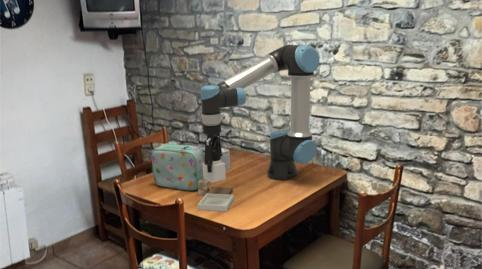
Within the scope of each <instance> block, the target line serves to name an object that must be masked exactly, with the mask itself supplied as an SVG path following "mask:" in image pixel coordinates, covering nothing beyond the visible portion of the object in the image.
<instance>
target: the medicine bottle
mask: <svg viewBox="0 0 482 269" xmlns="http://www.w3.org/2000/svg"><path fill="white" fill-rule="evenodd" d="M208 162H209V161H208ZM213 165H214V180H207V165H204V163H203V178H204V179H205V180H207V181H209V183H216V182H220V181H224V180H227V174H226V173H227V172H226V171H227V170H226V169H225V163H223V162H221V154H220V152H219V151H214V154H213Z"/></svg>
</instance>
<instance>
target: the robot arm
mask: <svg viewBox="0 0 482 269" xmlns="http://www.w3.org/2000/svg"><path fill="white" fill-rule="evenodd" d="M319 65H320V54H319V52H318V51H317V50H316V49H315V47H313V46H310V45H306V44H286V45H283V46H280V47H278V48H276V49H274V50H273V51H271V52H269V53H267V54H266V55H264V58H262V59H261V60H260V61H257V62H255V63H254V64H252V65H250V66H248V67H247V68H245V69H242V70H241V71H239V72H238V73H235V74H234V75H232V76H230V77H229V78H227V79H224V80H222V81H221V82H219V83H217V84H209V85H205V86H202V87H201V88H200V100H201V101H200V102H201V103H200V105H201V116H200V117H201V118H202V133H203V134H204V135H207V138H206V139H205V140H204V162H205V163H204V165H207V180H214V165H213V154H214V151H219V152H220V154H221V156H222V149H221V148H222V143H221V132H222V124H221V122H222V117H221V109H223V108H231V107H239V106H243V105H245V103H246V101H247V94H246V91H245V89H246V88H248V87H249V86H251V85H253V84H255V83H257V82H258V81H260V80H263V78H266V77H267V76H269V75H270V74H277V73H278V72H282V71H287V75H288V76H287V77H289V78H290V83H291V84H290V87H291V88H290V129H280V130H279V129H278V130H274V131H272V132H270V134H269V146H270V147H269V152H270V154H269V156H270V157H269V158H270V160H269V161H270V162H269V165H268V168H267V173H266V174H267V177H268V178H269V179H271V180H275V181H288V180H292V179H296V178H297V177H298V173H299V172H298V168H297V165H296V163H299V164H308V163H310V162H311V161H312V160H313V159H314V158H315V157H316V154H317V152H318V146H317V143H316V142H315V141H314V140H313V133H312V132H311V131H310V111H311V110H310V109H311V107H310V102H311V79H312V78H314V72H315V71H316V70H317V69H318V67H319ZM208 161H209V162H208Z"/></svg>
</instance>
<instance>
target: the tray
mask: <svg viewBox="0 0 482 269" xmlns="http://www.w3.org/2000/svg"><path fill="white" fill-rule="evenodd" d="M234 201H235V195H234V194H231V195H229V194H209V193H207V194H206V195H203V197H202V198H201V199H200V201H199V202H198V203H197V211H207V210H210V211H211V210H212V211H211V212H228V211H229V209H230V208H231V206H232V204H233V203H234Z"/></svg>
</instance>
